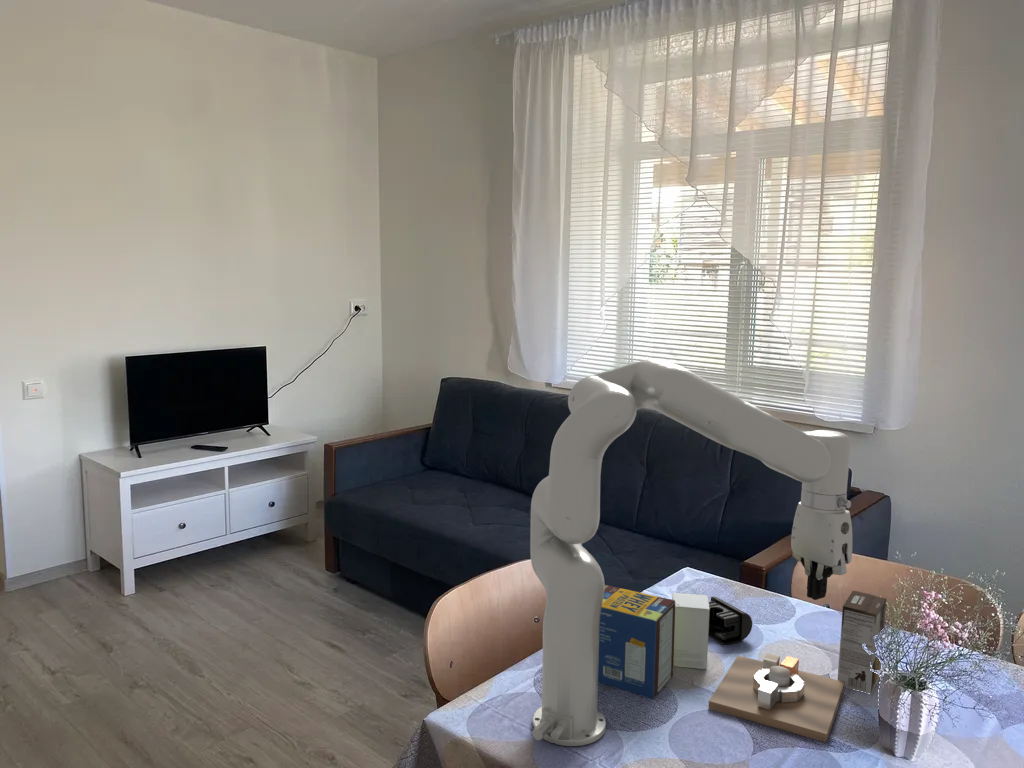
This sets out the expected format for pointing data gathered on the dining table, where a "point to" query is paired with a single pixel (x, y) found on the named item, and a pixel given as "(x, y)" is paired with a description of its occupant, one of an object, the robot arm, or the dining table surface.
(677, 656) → the supplement box
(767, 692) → the segmented ring with arms
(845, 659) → the coffee box
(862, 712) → the dining table surface
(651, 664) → the protein box
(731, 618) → the end cap
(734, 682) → the base
